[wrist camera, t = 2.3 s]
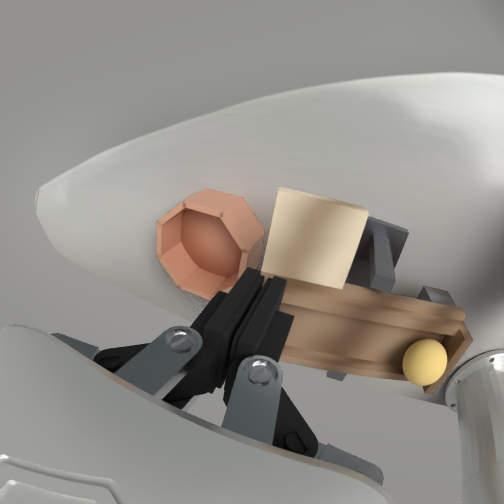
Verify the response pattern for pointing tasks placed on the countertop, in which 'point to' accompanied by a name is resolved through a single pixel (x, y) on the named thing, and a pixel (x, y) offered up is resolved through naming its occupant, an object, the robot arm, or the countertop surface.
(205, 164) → the countertop surface
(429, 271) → the countertop surface
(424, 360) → the ball
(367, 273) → the stand
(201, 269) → the salmon orange faceted bowl
